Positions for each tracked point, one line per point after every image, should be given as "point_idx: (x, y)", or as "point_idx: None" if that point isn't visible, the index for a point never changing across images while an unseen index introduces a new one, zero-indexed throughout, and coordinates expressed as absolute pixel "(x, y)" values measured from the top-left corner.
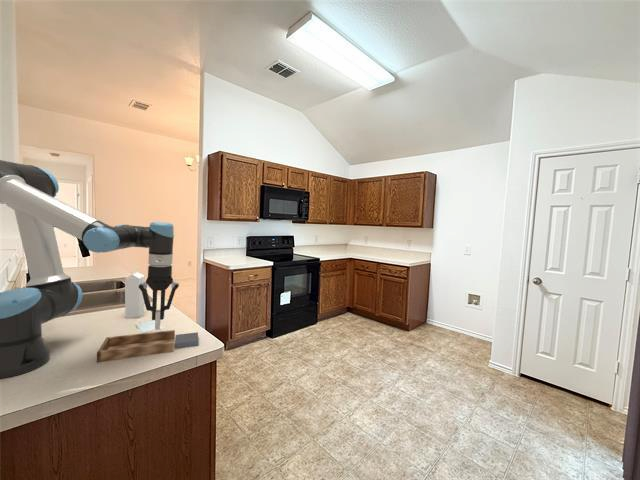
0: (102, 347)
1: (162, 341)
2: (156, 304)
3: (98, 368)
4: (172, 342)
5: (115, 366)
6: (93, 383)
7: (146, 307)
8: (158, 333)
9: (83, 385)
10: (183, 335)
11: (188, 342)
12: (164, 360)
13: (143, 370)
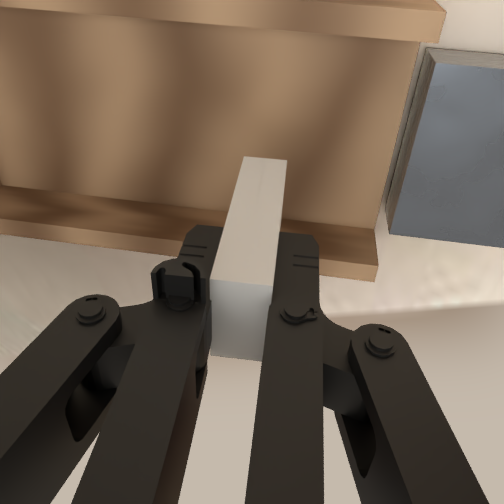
0: None
1: (320, 48)
2: (191, 396)
3: None
4: (370, 275)
5: (96, 246)
6: None
7: (75, 400)
8: (283, 26)
9: (38, 330)
10: (496, 109)
11: (485, 242)
12: None
13: None
